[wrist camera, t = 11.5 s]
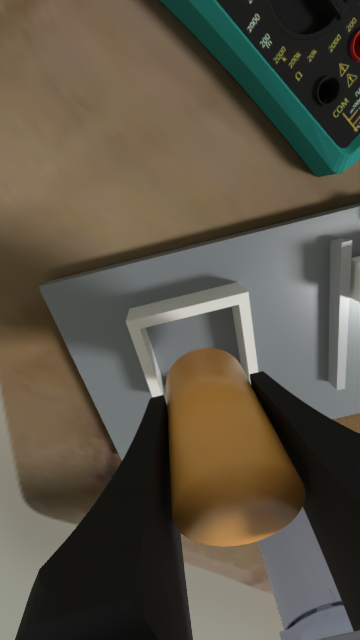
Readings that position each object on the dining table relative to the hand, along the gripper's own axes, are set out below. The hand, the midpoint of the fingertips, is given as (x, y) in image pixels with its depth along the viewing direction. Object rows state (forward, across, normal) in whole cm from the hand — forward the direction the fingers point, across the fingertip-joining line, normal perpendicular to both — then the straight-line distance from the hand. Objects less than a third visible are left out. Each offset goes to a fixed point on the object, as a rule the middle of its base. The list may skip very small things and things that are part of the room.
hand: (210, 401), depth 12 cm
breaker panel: (+7, -4, +2) cm, 8 cm away
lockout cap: (+1, 0, 0) cm, 1 cm away
